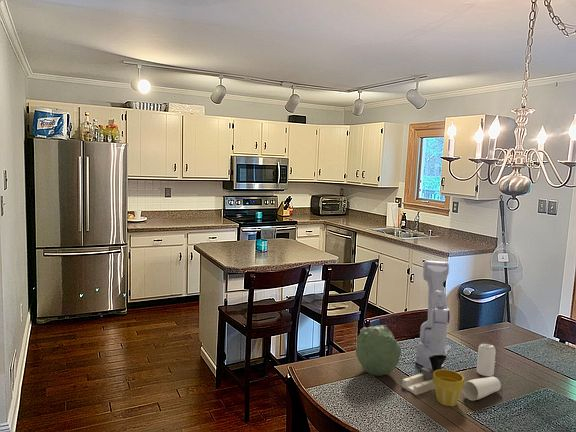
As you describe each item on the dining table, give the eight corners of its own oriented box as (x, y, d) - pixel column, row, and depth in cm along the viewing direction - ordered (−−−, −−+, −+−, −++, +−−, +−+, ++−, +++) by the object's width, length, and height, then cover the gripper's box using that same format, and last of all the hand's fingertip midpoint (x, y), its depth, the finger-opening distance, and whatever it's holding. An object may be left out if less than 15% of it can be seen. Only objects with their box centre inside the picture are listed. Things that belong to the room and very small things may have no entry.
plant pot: (434, 391, 165) (436, 366, 164) (464, 399, 160) (466, 373, 158) (428, 403, 156) (430, 377, 155) (459, 412, 151) (461, 385, 150)
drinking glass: (500, 396, 165) (475, 405, 157) (484, 385, 170) (459, 392, 162) (505, 381, 163) (481, 388, 155) (489, 370, 169) (465, 377, 160)
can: (495, 378, 177) (498, 349, 176) (478, 375, 178) (480, 347, 177) (491, 370, 183) (494, 343, 182) (474, 368, 185) (477, 341, 183)
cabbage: (408, 376, 175) (411, 328, 173) (372, 388, 165) (376, 336, 163) (380, 361, 189) (383, 315, 186) (345, 370, 178) (348, 323, 176)
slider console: (402, 386, 167) (402, 379, 167) (428, 377, 175) (429, 370, 175) (416, 395, 161) (417, 387, 161) (443, 385, 169) (444, 377, 169)
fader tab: (420, 378, 171) (421, 368, 170) (425, 376, 172) (426, 366, 172) (431, 384, 167) (431, 373, 166) (436, 382, 168) (437, 372, 168)
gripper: (434, 345, 163) (431, 381, 164) (459, 338, 170) (456, 372, 172) (419, 339, 168) (416, 373, 170) (444, 332, 176) (441, 365, 178)
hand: (435, 372), depth 171 cm, fingers closed
